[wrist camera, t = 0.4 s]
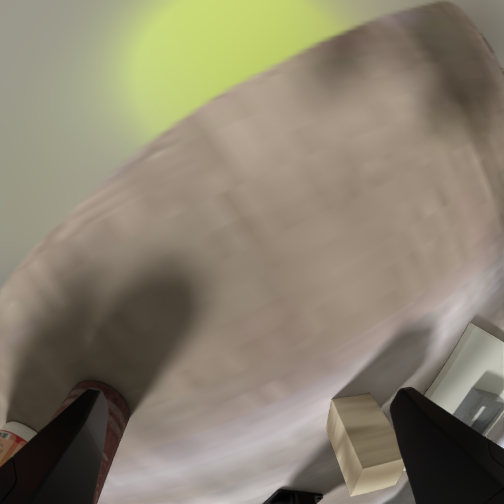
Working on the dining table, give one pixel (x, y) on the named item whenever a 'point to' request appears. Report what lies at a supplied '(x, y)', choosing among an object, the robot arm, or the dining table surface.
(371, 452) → the square peg
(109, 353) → the dining table surface
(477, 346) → the socket board
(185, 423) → the dining table surface
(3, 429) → the fruit juice
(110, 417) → the can
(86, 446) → the robot arm
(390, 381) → the dining table surface
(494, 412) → the square socket
